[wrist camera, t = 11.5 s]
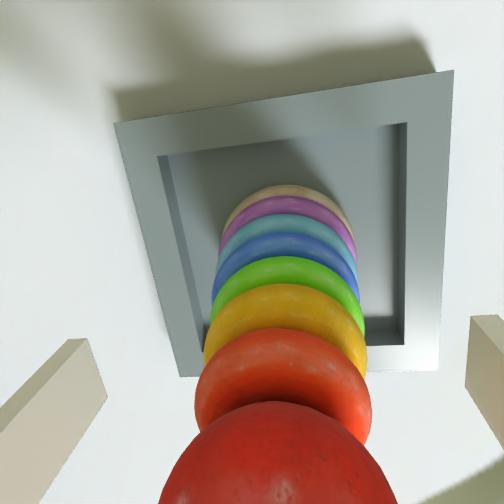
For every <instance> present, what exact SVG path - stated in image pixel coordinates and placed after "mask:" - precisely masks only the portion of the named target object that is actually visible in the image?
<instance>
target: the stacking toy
mask: <svg viewBox="0 0 504 504" xmlns="http://www.w3.org/2000/svg"><path fill="white" fill-rule="evenodd" d="M211 300H212V311H211V316H210V328H209V330H208V333H207V336H206V341H205V345H204V365H205V368H204V369H203V371H202V373H201V375H200V378H199V381H198V384H197V388H196V392H195V405H194V409H195V417H196V421H197V424H198V427H199V430H200V433H199V434H198V435H197V436H196V437H195V438H194V439H193V441H192V442H191V443H190V445H189V446H188V447H187V448H186V450H185V451H184V452H183V453H182V455H181V456H180V458H179V459H178V461H177V462H176V464H175V466H174V468H173V470H172V472H171V474H170V476H169V478H168V480H167V482H166V484H165V486H164V488H163V490H162V493H161V496H160V500H159V503H158V504H398V503H397V501H396V498H395V495H394V493H393V491H392V489H391V487H390V485H389V483H388V481H387V479H386V477H385V475H384V473H383V471H382V470H381V468H380V466H379V465H378V464H377V462H376V461H375V460H374V458H373V457H372V456H371V454H370V453H369V452H368V451H367V449H366V448H365V447H364V444H365V442H366V440H367V437H368V435H369V433H370V428H371V422H372V408H371V401H370V395H369V392H368V389H367V386H366V383H365V381H364V379H365V375H366V369H367V349H366V343H365V340H364V335H365V325H364V317H363V313H362V309H361V306H360V294H359V288H358V272H357V253H356V247H355V239H354V234H353V231H352V227H351V225H350V223H349V220H348V219H347V217H346V215H345V214H344V212H343V211H342V210H341V209H340V208H339V207H338V205H337V204H336V203H335V202H333V201H332V200H331V199H330V198H328V197H327V196H325V195H324V194H322V193H320V192H318V191H315V190H313V189H310V188H307V187H303V186H297V185H275V186H270V187H267V188H264V189H261V190H259V191H257V192H255V193H253V194H251V195H250V196H248V197H247V198H245V199H244V200H243V201H242V202H241V203H240V204H239V205H238V206H237V207H236V208H235V209H234V211H233V212H232V213H231V215H230V216H229V218H228V220H227V222H226V224H225V227H224V230H223V234H222V239H221V243H220V247H219V253H218V262H217V266H216V272H215V280H214V284H213V288H212V298H211Z"/></svg>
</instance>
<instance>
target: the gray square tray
mask: <svg viewBox="0 0 504 504" xmlns="http://www.w3.org/2000/svg"><path fill="white" fill-rule="evenodd" d="M453 81H454V70H449V71H443V72H437V73H430V74H424V75H417V76H411V77H405V78H398V79H392V80H386V81H379V82H373V83H366V84H360V85H354V86H347V87H341V88H335V89H328V90H322V91H315V92H309V93H303V94H296V95H290V96H284V97H277V98H271V99H264V100H258V101H252V102H245V103H239V104H233V105H226V106H220V107H213V108H207V109H201V110H194V111H188V112H182V113H175V114H169V115H162V116H156V117H150V118H143V119H137V120H131V121H124V122H118V123H113V124H114V128H115V131H116V135H117V139H118V143H119V147H120V151H121V154H122V158H123V162H124V166H125V170H126V173H127V177H128V181H129V185H130V189H131V193H132V196H133V200H134V204H135V208H136V212H137V215H138V219H139V223H140V227H141V231H142V235H143V238H144V242H145V246H146V250H147V254H148V257H149V261H150V265H151V269H152V273H153V277H154V280H155V284H156V288H157V292H158V296H159V299H160V303H161V307H162V311H163V315H164V319H165V322H166V326H167V330H168V334H169V338H170V341H171V345H172V349H173V353H174V357H175V361H176V364H177V368H178V372H179V376H180V377H199V376H200V375H201V373H202V371H203V369H204V368H205V365H204V345H205V341H206V336H207V333H208V330H209V328H210V316H211V311H212V300H211V298H212V288H213V284H214V280H215V272H216V266H217V262H218V253H219V247H220V243H221V239H222V234H223V230H224V227H225V224H226V222H227V220H228V218H229V216H230V215H231V213H232V212H233V211H234V209H235V208H236V207H237V206H238V205H239V204H240V203H241V202H242V201H243V200H244V199H245V198H247V197H248V196H250V195H251V194H253V193H255V192H257V191H259V190H261V189H264V188H267V187H270V186H275V185H297V186H303V187H307V188H310V189H313V190H315V191H318V192H320V193H322V194H324V195H325V196H327V197H328V198H330V199H331V200H332V201H333V202H335V203H336V204H337V205H338V207H339V208H340V209H341V210H342V211H343V212H344V214H345V215H346V217H347V219H348V220H349V223H350V225H351V227H352V231H353V234H354V239H355V247H356V253H357V272H358V288H359V294H360V306H361V309H362V313H363V317H364V325H365V335H364V340H365V343H366V349H367V369H366V372H393V371H432V370H438V358H439V339H440V321H441V302H442V284H443V265H444V247H445V228H446V210H447V192H448V173H449V155H450V136H451V118H452V99H453Z"/></svg>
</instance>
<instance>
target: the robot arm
mask: <svg viewBox="0 0 504 504" xmlns="http://www.w3.org/2000/svg"><path fill="white" fill-rule="evenodd" d="M465 388H466V389H467V391H468V392H469V394H470V396H471V397H472V399H473V401H474V402H475V404H476V405H477V407H478V409H479V410H480V412H481V414H482V415H483V417H484V418H485V420H486V422H487V423H488V425H489V427H490V428H491V430H492V431H493V433H494V435H495V436H496V438H497V439H498V441H499V443H500V444H501V446H502V448H503V449H504V321H503V320H502V319H501V318H500V317H499V316H498V315H480V316H471V319H470V330H469V342H468V354H467V365H466V377H465ZM107 398H108V396H107V393H106V390H105V387H104V384H103V382H102V379H101V376H100V373H99V370H98V367H97V365H96V362H95V359H94V356H93V353H92V350H91V348H90V345H89V342H88V339H87V338H82V339H68V340H67V341H66V342H65V343H64V344H63V345H62V346H61V347H60V348H59V349H58V350H57V351H56V352H55V353H54V354H53V355H52V356H51V357H50V358H49V359H48V360H47V361H46V362H45V363H44V364H43V365H42V366H41V367H40V368H39V369H38V370H37V371H36V372H35V373H34V374H33V375H32V376H31V377H30V378H29V379H28V380H27V381H26V382H25V383H24V384H23V385H22V386H21V388H20V389H19V390H18V391H17V392H16V393H15V394H14V395H13V396H12V397H11V398H10V399H9V400H8V401H7V402H6V403H5V404H4V405H3V406H2V407H1V408H0V504H38V503H39V502H40V500H41V499H42V497H43V496H44V494H45V493H46V491H47V490H48V488H49V486H50V485H51V483H52V482H53V480H54V479H55V477H56V476H57V474H58V473H59V471H60V470H61V468H62V467H63V465H64V464H65V462H66V460H67V459H68V457H69V456H70V454H71V453H72V451H73V450H74V448H75V447H76V445H77V444H78V442H79V441H80V439H81V438H82V436H83V434H84V433H85V431H86V430H87V428H88V427H89V425H90V424H91V422H92V421H93V419H94V418H95V416H96V415H97V413H98V411H99V410H100V408H101V407H102V405H103V404H104V402H105V401H106V399H107Z"/></svg>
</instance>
